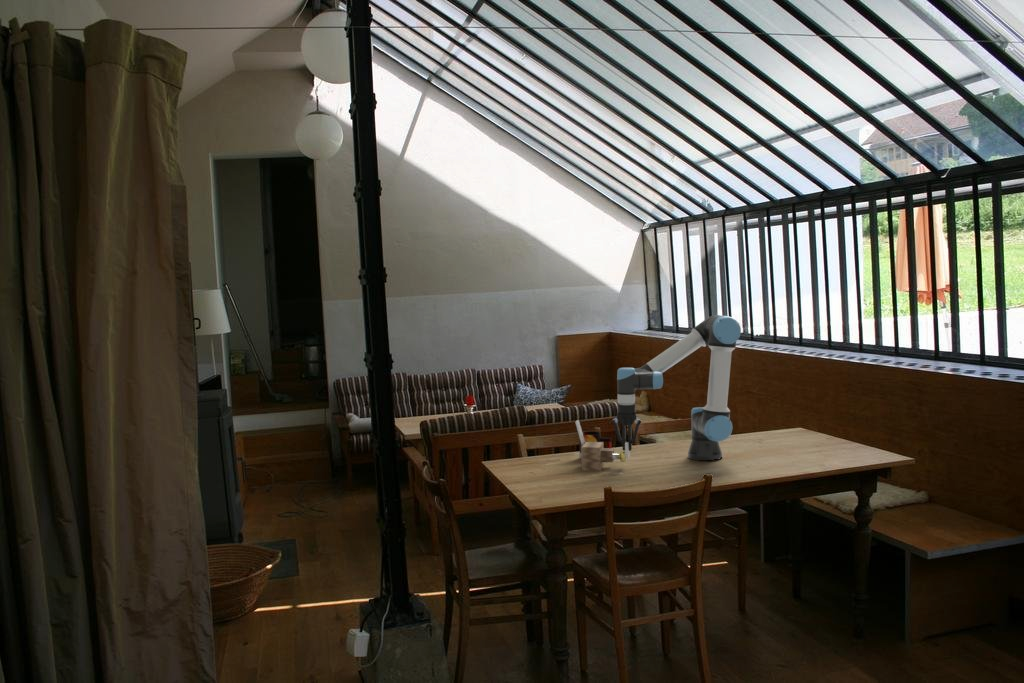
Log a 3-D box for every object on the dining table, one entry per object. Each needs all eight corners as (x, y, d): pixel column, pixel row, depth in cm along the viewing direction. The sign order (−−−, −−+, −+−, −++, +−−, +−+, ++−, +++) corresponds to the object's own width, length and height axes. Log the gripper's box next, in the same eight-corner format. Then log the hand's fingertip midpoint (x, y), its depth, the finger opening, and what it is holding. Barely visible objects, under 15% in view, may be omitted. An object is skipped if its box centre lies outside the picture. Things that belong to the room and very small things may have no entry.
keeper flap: (578, 419, 369) (576, 420, 369) (576, 421, 364) (575, 421, 365) (585, 441, 369) (583, 442, 369) (583, 443, 364) (581, 444, 365)
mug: (612, 460, 381) (611, 433, 380) (582, 461, 378) (582, 435, 377) (606, 455, 390) (605, 430, 389) (577, 457, 388) (576, 431, 387)
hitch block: (615, 464, 370) (614, 440, 369) (611, 470, 358) (611, 445, 358) (585, 464, 373) (584, 439, 372) (580, 470, 362) (579, 444, 361)
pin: (626, 460, 365) (626, 450, 364) (625, 463, 360) (624, 452, 360) (580, 459, 370) (580, 449, 369) (579, 462, 365) (578, 451, 365)
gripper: (642, 402, 363) (643, 456, 364) (612, 402, 366) (613, 455, 367) (640, 405, 355) (641, 460, 357) (610, 404, 359) (611, 459, 360)
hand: (627, 457), depth 362 cm, fingers closed
